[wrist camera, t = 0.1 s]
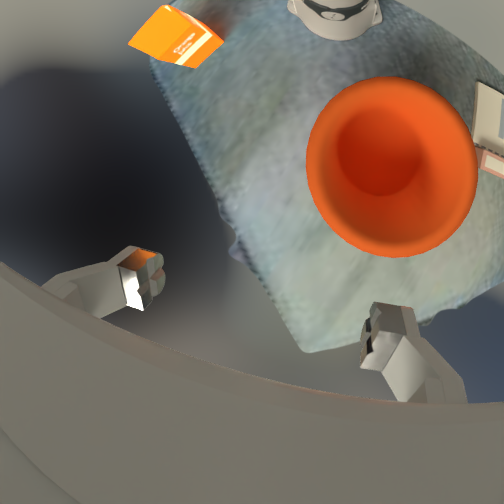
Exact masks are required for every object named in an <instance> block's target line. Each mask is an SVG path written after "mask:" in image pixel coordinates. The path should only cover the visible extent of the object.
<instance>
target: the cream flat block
mask: <svg viewBox="0 0 504 504" xmlns="http://www.w3.org/2000/svg"><path fill="white" fill-rule="evenodd" d="M471 137H472V140H473V142H474V145H475V146H477V147H480V148H482V149H484V150H487V151H489V152H491V153H493V154H495V155H497V156H499V157H501V158H503V159H504V95H503V94H501V93H499V92H497V91H496V90H494V89H492V88H490V87H488V86H486V85H484V84H482V83H480V82H476V84H475V101H474V112H473V121H472V129H471Z"/></svg>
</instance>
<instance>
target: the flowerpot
mask: <svg viewBox="0 0 504 504" xmlns="http://www.w3.org/2000/svg"><path fill="white" fill-rule="evenodd" d="M306 172H307V179H308V186H309V189H310V192H311V195H312V197H313V200H314V203H315V205H316V207H317V208H318V210H319V212H320V214H321V215H322V217H323V219H324V220H325V221H326V222H327V224H328V225H329V226H330V227H331V228H332V230H333V231H334V232H335V233H337V234H338V235H339V236H340V237H341V238H343V239H344V240H345V241H346V242H347V243H349V244H351V245H353V246H355V247H356V248H358V249H360V250H362V251H365V252H368V253H371V254H374V255H377V256H384V257H391V258H396V257H410V256H414V255H418V254H421V253H424V252H427V251H429V250H431V249H433V248H435V247H437V246H439V245H440V244H441V243H443V242H444V241H445V240H447V239H448V238H449V237H450V236H451V235H452V234H453V233H454V232H455V231H456V230H457V229H458V228H459V227H460V226H461V224H462V222H463V221H464V219H465V218H466V216H467V214H468V213H469V211H470V208H471V205H472V203H473V200H474V197H475V193H476V188H477V182H478V160H477V155H476V150H475V145H474V142H473V140H472V137H471V134H470V132H469V129H468V127H467V126H466V124H465V122H464V121H463V119H462V118H461V116H460V115H459V113H458V112H457V111H456V109H455V108H454V107H453V106H452V105H451V104H450V103H449V102H448V101H447V100H446V99H445V98H444V97H442V96H441V95H440V94H438V93H437V92H435V91H434V90H433V89H431V88H429V87H427V86H425V85H423V84H421V83H418V82H416V81H414V80H410V79H405V78H400V77H374V78H370V79H366V80H362V81H359V82H357V83H355V84H353V85H351V86H349V87H347V88H345V89H343V90H342V91H341V92H340V93H338V94H337V95H336V96H335V97H334V98H332V99H331V100H330V101H329V102H328V104H327V105H326V106H325V108H324V109H323V110H322V112H321V113H320V114H319V116H318V118H317V120H316V122H315V124H314V126H313V128H312V130H311V133H310V137H309V142H308V146H307V151H306Z"/></svg>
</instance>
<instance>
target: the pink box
mask: <svg viewBox="0 0 504 504" xmlns="http://www.w3.org/2000/svg"><path fill="white" fill-rule="evenodd" d="M475 150H476V155H477V160H478V168H480V169H483V170H485V171H487V172H490V173H492V174H494V175H496V176H498V177H501V178H503V179H504V159H503V158H501V157H499V156H497V155H495V154H493V153H491V152H489V151H487V150H484V149H482V148H478V147H475Z"/></svg>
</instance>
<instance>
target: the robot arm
mask: <svg viewBox="0 0 504 504" xmlns="http://www.w3.org/2000/svg"><path fill="white" fill-rule="evenodd" d="M287 8H288V10H289V11H290V12H291V13H293V14H295V15H296V16H298V17H299V18H300V19H301V20H302V22H303V23H304V24H305V26H306V27H307V28H308V29H310V30H311V31H312V32H314V33H315V34H317V35H319V36H321V37H324V38H327V39H331V40H350V39H353V38H356V37H358V36H360V35H362V34H363V33H364V32H365V31H366V30H367V29H368V28H370V27H372V26H375V25H378V24H380V23H381V22H382V14H381V10H380V6H379V2H378V0H289V2H288V5H287ZM376 13H377V15H375V14H376ZM163 264H164V263H163V256H161V254H159V253H156V252H152V251H149V250H145V249H141V248H138V247H134V246H129V247H127V248H126V249H124V250H123V251H122V252H120V253H119V254H117V255H116V256H115V257H113V258H112V259H111V260H109V261H108V262H107V263H105V262H102V263H98V264H94V265H91V266H87V267H83V268H79V269H75V270H72V271H68V272H65V273H61V274H57V275H56V276H55V277H53V278H52V279H51V280H49V281H48V282H47V283H45V284H44V285H43V286H41V287H39V286H37V285H36V284H34V283H33V282H31V281H29V280H28V279H26V278H25V277H23V276H21V275H20V274H18V273H17V272H15V271H14V270H12V269H11V268H9V267H7V266H6V265H5V264H4V263H2V262H0V504H504V402H495V403H475V404H468V402H467V397H466V393H465V388H464V384H463V380H462V378H461V377H460V376H459V375H458V374H457V373H456V372H455V370H454V369H453V368H452V367H451V366H450V365H449V364H448V363H447V362H446V361H445V360H444V359H443V357H442V356H441V355H440V354H439V353H438V352H437V351H436V350H435V349H434V348H433V347H432V346H431V345H430V344H429V343H428V342H427V341H426V340H425V339H424V338H421V337H420V333H419V329H418V325H417V322H416V318H415V314H414V311H413V309H412V308H411V307H405V306H397V305H391V304H385V303H379V302H373V304H372V306H371V308H370V310H369V311H370V317H369V318H368V319H366V320H365V323H364V325H363V328H362V332H361V338H360V345H361V346H362V348H363V349H362V351H361V353H360V368H365V369H370V370H376V371H382V374H383V376H384V377H385V379H386V381H387V383H388V384H389V386H390V388H391V390H392V391H393V393H394V395H395V397H396V398H397V400H398V401H389V400H380V399H371V398H363V397H355V396H348V395H342V394H336V393H330V392H324V391H319V390H313V389H309V388H304V387H299V386H294V385H290V384H286V383H281V382H277V381H273V380H268V379H265V378H261V377H257V376H254V375H250V374H246V373H242V372H239V371H236V370H232V369H229V368H226V367H222V366H219V365H216V364H213V363H210V362H206V361H204V360H201V359H197V358H194V357H191V356H189V355H186V354H183V353H180V352H178V351H174V350H172V349H170V348H167V347H164V346H161V345H159V344H157V343H154V342H151V341H149V340H146V339H144V338H142V337H139V336H137V335H134V334H132V333H130V332H128V331H125V330H123V329H121V328H118V327H116V326H114V325H112V324H110V323H108V322H105V321H103V320H101V319H99V318H102V317H104V316H106V315H108V314H110V313H112V312H114V311H116V310H119V309H121V308H123V307H125V306H126V305H129V306H132V307H135V308H138V309H140V310H144V309H145V308H146V307H147V306H148V305H149V304H150V303H151V301H152V297H153V296H155V295H158V294H159V293H160V292H161V291H162V289H163V286H164V284H165V273H164V271H163V270H162V269H161V267H162V265H163Z"/></svg>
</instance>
